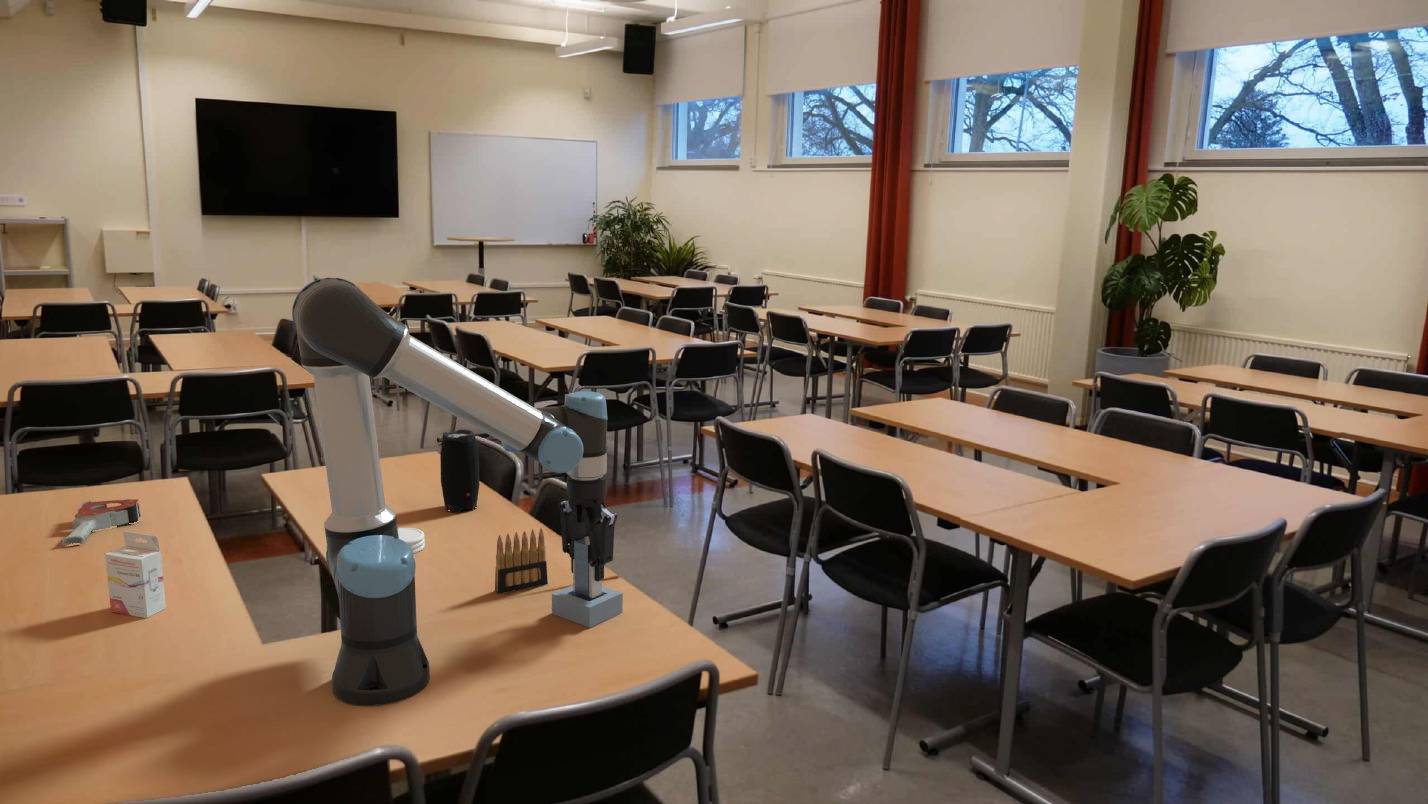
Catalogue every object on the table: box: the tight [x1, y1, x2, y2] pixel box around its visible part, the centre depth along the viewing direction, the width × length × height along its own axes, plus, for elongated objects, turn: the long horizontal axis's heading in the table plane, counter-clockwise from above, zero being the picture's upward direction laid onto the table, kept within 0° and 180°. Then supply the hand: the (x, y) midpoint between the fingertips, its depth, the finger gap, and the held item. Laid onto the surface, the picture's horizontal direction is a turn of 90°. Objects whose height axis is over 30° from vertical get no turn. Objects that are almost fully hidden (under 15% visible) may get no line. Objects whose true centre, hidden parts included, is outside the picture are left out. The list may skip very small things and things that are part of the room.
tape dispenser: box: [61, 498, 142, 547], centre depth 231 cm, size 18×5×20 cm
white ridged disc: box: [398, 527, 426, 555], centre depth 224 cm, size 10×10×4 cm
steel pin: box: [574, 535, 600, 600], centre depth 191 cm, size 4×4×11 cm
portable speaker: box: [439, 429, 480, 513], centre depth 251 cm, size 9×9×20 cm
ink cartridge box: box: [104, 530, 167, 619], centre depth 187 cm, size 9×5×15 cm, turn 74°
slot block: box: [551, 584, 624, 629], centre depth 192 cm, size 9×10×4 cm
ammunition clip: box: [494, 527, 549, 594], centre depth 203 cm, size 11×2×12 cm, turn 122°
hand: (587, 592), depth 192 cm, fingers closed on steel pin, 3 cm apart
